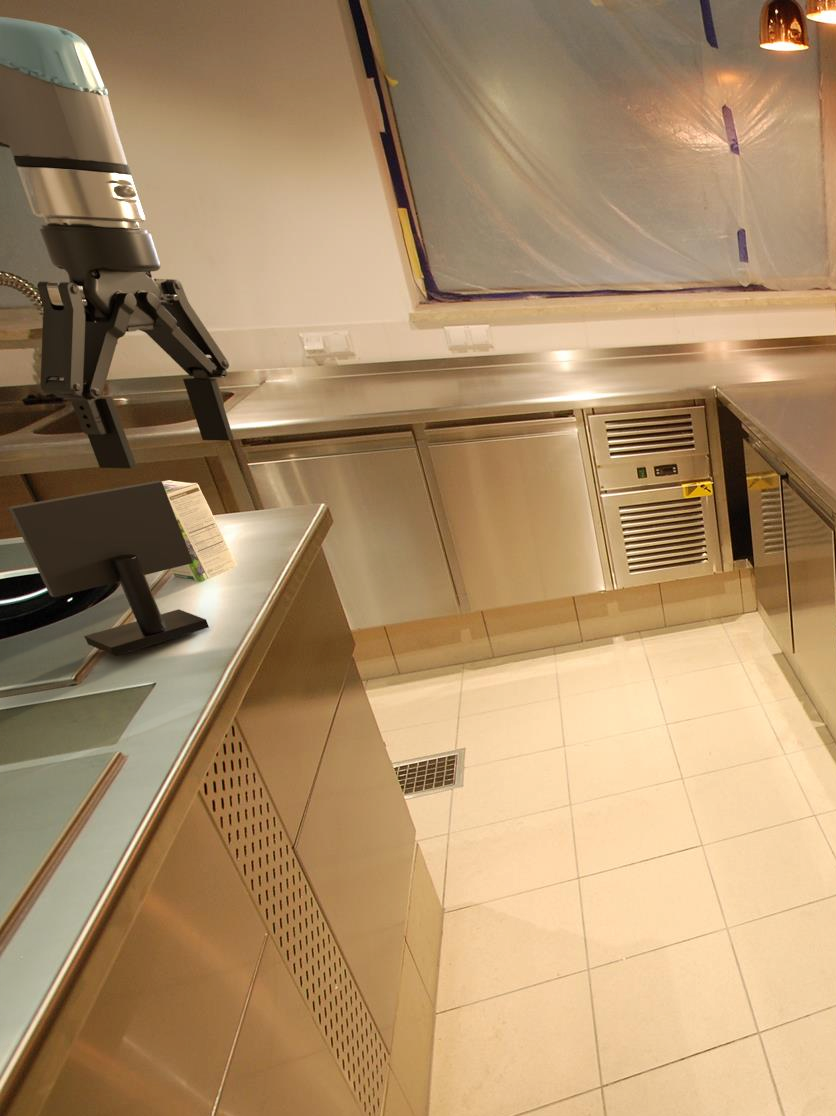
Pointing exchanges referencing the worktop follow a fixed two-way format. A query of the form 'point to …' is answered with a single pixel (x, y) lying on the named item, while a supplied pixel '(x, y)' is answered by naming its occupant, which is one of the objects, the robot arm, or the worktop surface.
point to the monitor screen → (100, 535)
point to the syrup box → (198, 533)
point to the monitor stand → (142, 615)
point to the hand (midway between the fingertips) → (172, 453)
